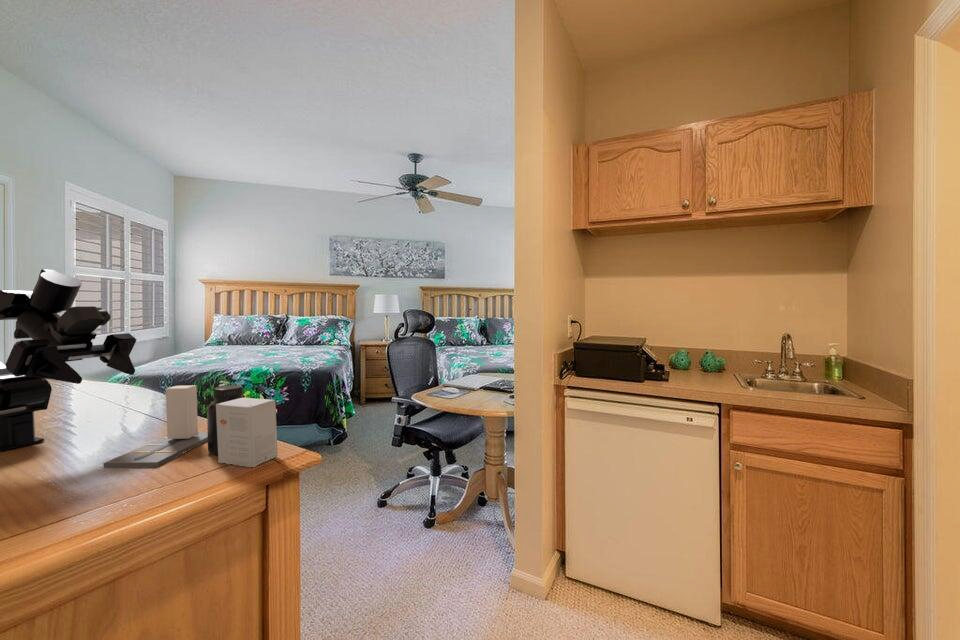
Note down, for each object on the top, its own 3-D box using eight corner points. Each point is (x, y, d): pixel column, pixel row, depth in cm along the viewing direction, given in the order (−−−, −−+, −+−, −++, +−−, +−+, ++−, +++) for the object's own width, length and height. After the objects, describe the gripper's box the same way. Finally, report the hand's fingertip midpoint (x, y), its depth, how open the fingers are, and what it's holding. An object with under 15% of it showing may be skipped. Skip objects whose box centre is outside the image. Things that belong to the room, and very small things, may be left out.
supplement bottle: (230, 457, 75) (228, 391, 75) (198, 455, 77) (196, 390, 76) (258, 444, 82) (256, 384, 82) (228, 442, 83) (226, 383, 83)
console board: (174, 436, 88) (174, 428, 88) (217, 435, 88) (217, 428, 88) (103, 467, 71) (103, 458, 71) (157, 466, 71) (156, 457, 71)
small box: (278, 457, 75) (276, 399, 75) (252, 468, 70) (250, 406, 70) (244, 452, 78) (243, 396, 77) (217, 463, 73) (215, 403, 72)
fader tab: (178, 434, 85) (176, 385, 85) (197, 433, 85) (196, 385, 85) (167, 438, 82) (165, 388, 82) (188, 438, 82) (186, 388, 82)
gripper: (3, 294, 70) (66, 345, 67) (119, 296, 88) (172, 337, 86) (-21, 350, 71) (40, 401, 69) (99, 340, 90) (150, 381, 87)
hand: (108, 376), depth 78 cm, fingers open, 9 cm apart
